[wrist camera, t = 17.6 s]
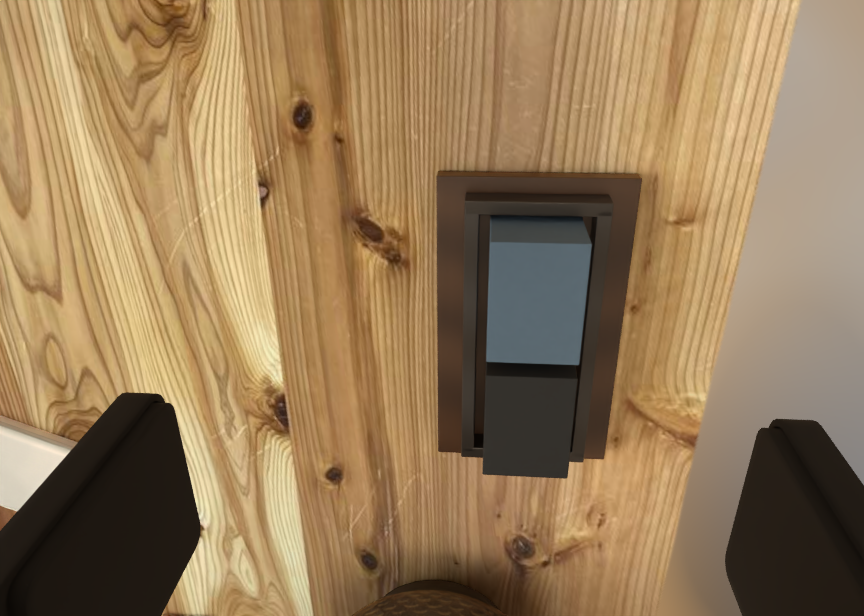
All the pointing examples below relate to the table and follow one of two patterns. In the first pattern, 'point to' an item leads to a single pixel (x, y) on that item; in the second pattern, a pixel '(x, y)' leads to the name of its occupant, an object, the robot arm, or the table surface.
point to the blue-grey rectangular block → (537, 289)
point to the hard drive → (27, 460)
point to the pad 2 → (528, 419)
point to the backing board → (468, 291)
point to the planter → (431, 601)
